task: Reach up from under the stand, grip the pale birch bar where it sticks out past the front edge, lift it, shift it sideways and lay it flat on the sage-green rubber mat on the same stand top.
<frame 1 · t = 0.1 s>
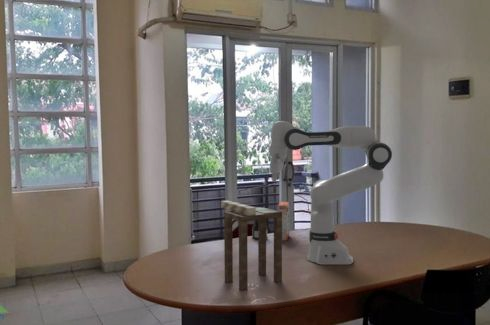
hand: (275, 180, 229), 39 cm above the table, fingers open, 8 cm apart
ink bottle: (259, 238, 272), on the table
stand: (253, 281, 195), on the table
bar: (237, 211, 194), point 30 cm above the table, touching stand
cracker box: (283, 238, 271), on the table
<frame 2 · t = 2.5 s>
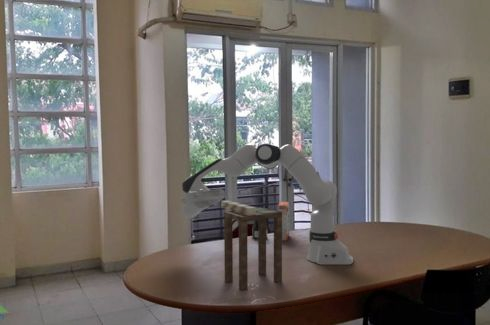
hand: (210, 189, 214), 36 cm above the table, fingers open, 8 cm apart
nothing on the table moved.
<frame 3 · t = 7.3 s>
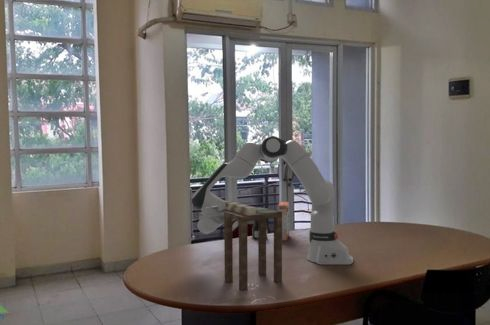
hand: (230, 204, 199), 32 cm above the table, fingers closed on bar, 3 cm apart
bar: (237, 211, 194), point 30 cm above the table, touching gripper, stand
everything else where it was.
when the fingers open (34 cm above the table, at t = 12.9 s): bar drops 2 cm, resting on stand.
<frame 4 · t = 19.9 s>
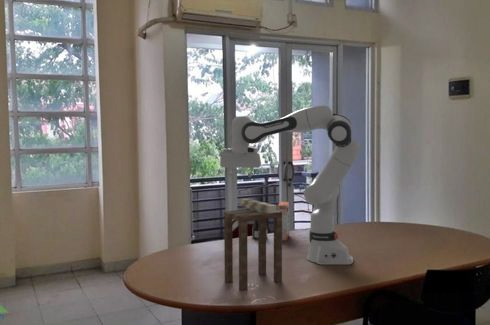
hand: (240, 176, 228), 41 cm above the table, fingers open, 8 cm apart
bar: (257, 209, 198), point 30 cm above the table, touching stand
everything else where it was.
at the end: bar inside the target area (0.1 cm from its centre), point 30.3 cm above the table; bar tilted 0°; the gripper is holding nothing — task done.
